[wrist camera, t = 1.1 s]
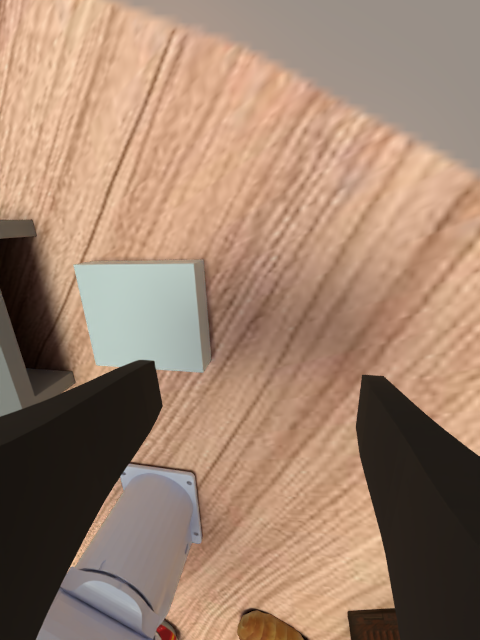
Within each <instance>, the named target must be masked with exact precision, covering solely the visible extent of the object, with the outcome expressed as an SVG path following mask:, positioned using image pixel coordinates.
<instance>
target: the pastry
mask: <svg viewBox="0 0 480 640" xmlns="http://www.w3.org/2000/svg"><path fill="white" fill-rule="evenodd" d="M237 633H238V636H239V639H240V640H304V639H303V638H302V636H301V634H300V633H299V632H298V631H296V630H295V629H294V628H291V627H290V626H289V625H287V624H286V623H284V622H282V621H281V620H279V619H278V618H276V617H274V616H272V615H271V614H268V613H267V614H265V613H262V612H260V611H258V610H256V611H252V612H250V613H248V614H245V615H243V616H242V619H241V621H240V623H239V625H238V630H237Z"/></svg>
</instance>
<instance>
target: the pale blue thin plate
mask: <svg viewBox="0 0 480 640" xmlns="http://www.w3.org/2000/svg"><path fill="white" fill-rule="evenodd" d="M74 269H75V273H76V278H77V282H78V287H79V291H80V296H81V300H82V304H83V309H84V313H85V318H86V322H87V327H88V331H89V335H90V340H91V344H92V349H93V353H94V358H95V362H96V365H99V366H114V367H122V366H124V365H126V364H129V363H131V362H134V361H137V360H152V361H154V362H155V367H156V369H157V370H172V371H186V372H201V373H203V372H204V371H205V369H206V368H207V366H208V365H209V363H210V361H211V348H210V335H209V322H208V310H207V297H206V284H205V271H204V259H202V260H125V261H90V262H85V263H80V264H75V265H74Z"/></svg>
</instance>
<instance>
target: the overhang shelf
mask: <svg viewBox="0 0 480 640" xmlns="http://www.w3.org/2000/svg"><path fill="white" fill-rule="evenodd" d="M30 236H36V232H35V229H34V225H33V221H32V220H0V238H15V237H30ZM74 383H75V380H74V377H73V373H72V372H71V371H57V370H43V369H30V368H25V364H24V361H23V358H22V355H21V352H20V349H19V346H18V343H17V340H16V337H15V333H14V330H13V327H12V324H11V321H10V318H9V315H8V312H7V309H6V306H5V303H4V299H3V296H2V293H1V290H0V416H3V415H6V414H9V413H12V412H15V411H18V410H21V409H23V408H26V407H29V406H32V405H34V404H37V403H40V402H42V401H45V400H47V399H50V398H52V397H54V396H57V395H59V394H61V393H62V392H63V391H65V390H66V389H68V388H69V387H70V386H72V385H73V384H74Z"/></svg>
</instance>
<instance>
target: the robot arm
mask: <svg viewBox="0 0 480 640" xmlns="http://www.w3.org/2000/svg"><path fill="white" fill-rule="evenodd" d="M162 407H163V405H162V400H161V394H160V389H159V383H158V378H157V373H156V367H155V362H154V361H152V360H137V361H134V362H131V363H129V364H126V365H124V366H122V367H119V368H117V369H115V370H113V371H111V372H108V373H106V374H104V375H102V376H100V377H97V378H95V379H93V380H91V381H89V382H87V383H84V384H82V385H80V386H78V387H75V388H73V389H71V390H68V391H66V392H64V393H61V394H59V395H57V396H54V397H52V398H50V399H47V400H45V401H42V402H40V403H37V404H34V405H32V406H29V407H26V408H23V409H21V410H18V411H15V412H12V413H9V414H6V415H3V416H0V640H161V638H160V637H159V636H157V635H155V633H156V630H157V628H158V627H159V625H160V624H161V623H162V622H163V620H164V619H165V617H166V615H167V614H168V612H169V609H170V607H171V604H172V601H173V598H174V595H175V592H176V589H177V586H178V583H179V580H180V577H181V574H182V571H183V568H184V565H185V562H186V559H187V556H188V553H189V550H190V547H191V544H192V543H196V544H200V543H201V541H202V531H201V523H200V514H199V506H198V498H197V489H196V481H195V475H194V474H193V473H191V472H186V471H178V470H171V469H164V468H157V467H150V466H142V465H135V464H129V463H130V461H131V460H132V458H133V457H134V455H135V454H136V453H137V451H138V450H139V448H140V446H141V445H142V443H143V442H144V440H145V439H146V437H147V436H148V434H149V433H150V431H151V429H152V427H153V425H154V423H155V422H156V420H157V417H158V415H159V413H160V411H161V409H162ZM356 431H357V439H358V446H359V452H360V458H361V462H362V466H363V470H364V474H365V477H366V481H367V485H368V489H369V492H370V496H371V500H372V503H373V507H374V511H375V515H376V518H377V522H378V526H379V529H380V533H381V537H382V541H383V546H384V550H385V554H386V560H387V565H388V571H389V577H390V582H391V588H392V594H393V599H394V605H395V611H396V617H397V623H398V629H399V635H400V640H480V456H478V455H477V454H475V453H474V452H473V451H471V450H470V449H469V448H467V447H466V446H465V445H463V444H462V443H461V442H460V441H458V440H457V439H456V438H454V437H453V436H452V435H451V434H449V433H448V432H447V431H445V430H444V429H443V428H442V427H441V426H439V425H438V424H437V423H436V422H434V421H433V420H432V419H431V418H430V417H429V416H427V415H426V414H425V413H424V412H423V411H422V410H420V409H419V408H418V407H417V406H416V405H415V404H414V403H413V402H411V401H410V400H409V399H408V398H407V397H406V396H405V395H404V394H403V393H401V392H400V391H399V390H398V389H397V388H396V387H395V386H394V385H393V384H392V383H391V382H389V381H388V380H387V379H386V378H385V377H384V376H373V375H362V381H361V389H360V397H359V405H358V413H357V422H356ZM119 478H121V482H122V486H123V493H122V494H121V496H120V497H119V499H118V501H117V502H116V504H115V505H114V507H113V508H112V510H111V511H110V513H109V515H108V516H107V518H106V519H105V521H104V522H103V524H102V525H101V527H100V528H99V530H98V532H97V533H96V535H95V536H94V538H93V539H92V541H91V542H90V544H89V546H88V547H87V549H86V550H85V552H84V553H83V555H82V556H81V558H80V559H79V561H78V563H77V564H76V566H75V567H71V568H70V569H69V567H70V565H71V563H72V561H73V560H74V558H75V556H76V554H77V552H78V550H79V548H80V546H81V544H82V542H83V540H84V538H85V536H86V534H87V532H88V530H89V529H90V527H91V525H92V523H93V521H94V519H95V518H96V516H97V514H98V512H99V510H100V508H101V507H102V505H103V503H104V501H105V500H106V498H107V496H108V495H109V493H110V491H111V490H112V488H113V487H114V485H115V484H116V482H117V481H118V479H119ZM68 569H69V571H68ZM67 571H68V572H67ZM66 573H67V574H66Z"/></svg>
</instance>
